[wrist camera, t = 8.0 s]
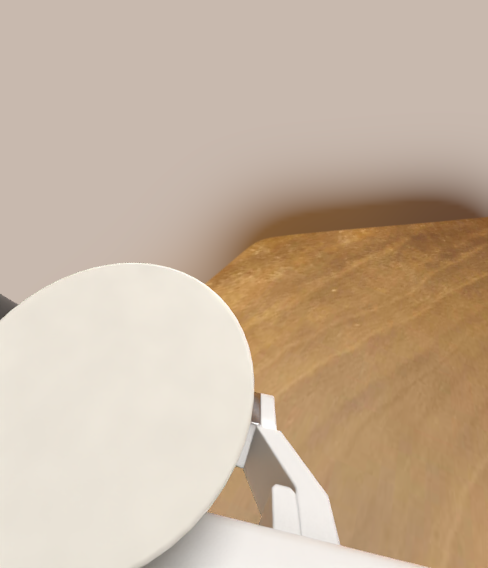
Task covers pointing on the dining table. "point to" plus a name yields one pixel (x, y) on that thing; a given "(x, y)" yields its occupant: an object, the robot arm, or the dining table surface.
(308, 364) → the dining table surface
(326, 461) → the dining table surface
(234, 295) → the dining table surface
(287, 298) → the dining table surface
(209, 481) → the tube
